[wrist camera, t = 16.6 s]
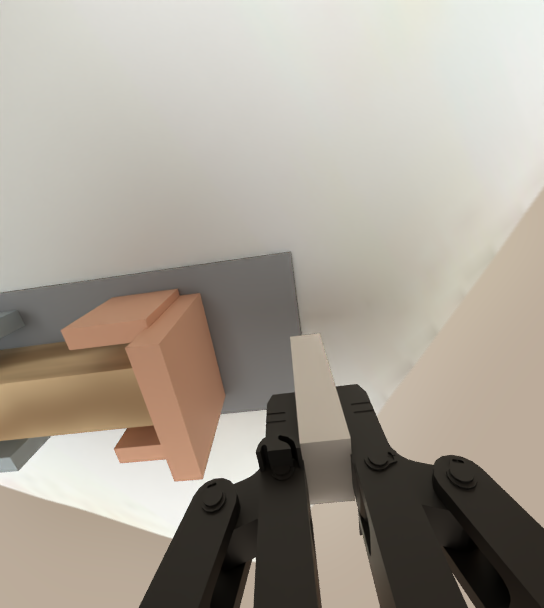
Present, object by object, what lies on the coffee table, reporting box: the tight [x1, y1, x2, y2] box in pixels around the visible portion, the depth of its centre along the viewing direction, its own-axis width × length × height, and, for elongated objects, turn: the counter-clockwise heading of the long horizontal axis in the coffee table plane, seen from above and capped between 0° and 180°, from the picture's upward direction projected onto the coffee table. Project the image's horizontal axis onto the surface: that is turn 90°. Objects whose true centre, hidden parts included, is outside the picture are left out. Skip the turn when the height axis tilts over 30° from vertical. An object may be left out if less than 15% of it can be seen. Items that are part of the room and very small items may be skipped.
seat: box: [0, 252, 301, 472], centre depth 19 cm, size 12×26×5 cm, turn 98°
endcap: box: [61, 289, 226, 481], centre depth 18 cm, size 9×6×7 cm, turn 8°
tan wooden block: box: [0, 341, 153, 441], centre depth 20 cm, size 4×15×5 cm, turn 99°
